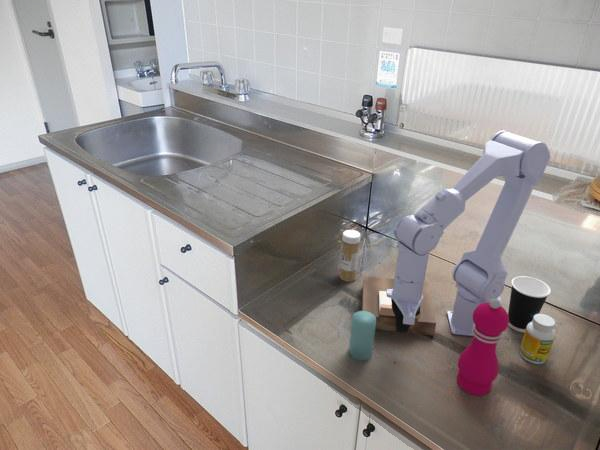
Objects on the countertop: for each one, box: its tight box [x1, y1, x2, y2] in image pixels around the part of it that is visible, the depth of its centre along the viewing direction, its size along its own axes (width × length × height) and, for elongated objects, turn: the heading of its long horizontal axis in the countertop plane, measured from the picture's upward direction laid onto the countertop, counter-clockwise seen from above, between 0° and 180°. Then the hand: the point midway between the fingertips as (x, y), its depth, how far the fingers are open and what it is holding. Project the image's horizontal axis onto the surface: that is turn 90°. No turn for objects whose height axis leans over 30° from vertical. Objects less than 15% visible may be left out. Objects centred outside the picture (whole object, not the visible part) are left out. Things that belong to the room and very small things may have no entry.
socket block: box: [361, 275, 437, 337], centre depth 107 cm, size 16×16×4 cm
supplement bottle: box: [519, 313, 556, 365], centre depth 93 cm, size 5×5×10 cm
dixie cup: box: [507, 275, 552, 333], centre depth 102 cm, size 8×8×11 cm
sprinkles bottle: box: [339, 229, 361, 283], centre depth 117 cm, size 5×5×14 cm
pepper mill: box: [456, 299, 509, 396], centre depth 83 cm, size 7×7×20 cm
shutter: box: [379, 291, 421, 319], centre depth 103 cm, size 9×9×3 cm
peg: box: [348, 310, 376, 362], centre depth 93 cm, size 5×5×9 cm
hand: (401, 330), depth 94 cm, fingers closed
